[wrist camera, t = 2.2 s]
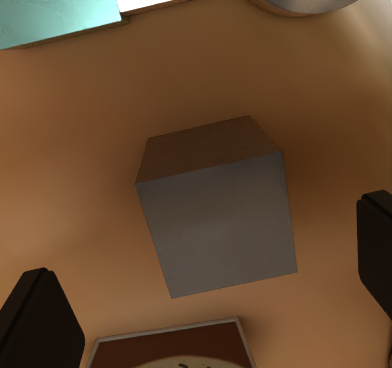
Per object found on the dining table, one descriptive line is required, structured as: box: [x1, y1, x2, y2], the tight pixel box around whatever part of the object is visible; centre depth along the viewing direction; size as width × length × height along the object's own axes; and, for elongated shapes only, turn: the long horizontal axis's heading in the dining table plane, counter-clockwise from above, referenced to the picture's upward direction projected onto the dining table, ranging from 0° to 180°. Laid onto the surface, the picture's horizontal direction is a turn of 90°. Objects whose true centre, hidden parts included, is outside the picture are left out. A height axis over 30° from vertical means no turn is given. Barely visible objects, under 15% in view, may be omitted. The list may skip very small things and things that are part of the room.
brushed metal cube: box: [135, 116, 297, 299], centre depth 16 cm, size 5×5×6 cm
